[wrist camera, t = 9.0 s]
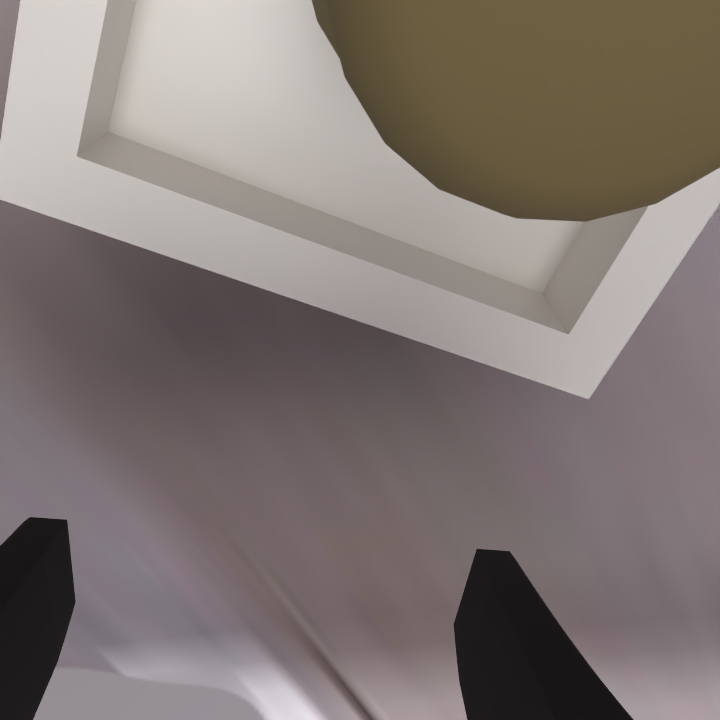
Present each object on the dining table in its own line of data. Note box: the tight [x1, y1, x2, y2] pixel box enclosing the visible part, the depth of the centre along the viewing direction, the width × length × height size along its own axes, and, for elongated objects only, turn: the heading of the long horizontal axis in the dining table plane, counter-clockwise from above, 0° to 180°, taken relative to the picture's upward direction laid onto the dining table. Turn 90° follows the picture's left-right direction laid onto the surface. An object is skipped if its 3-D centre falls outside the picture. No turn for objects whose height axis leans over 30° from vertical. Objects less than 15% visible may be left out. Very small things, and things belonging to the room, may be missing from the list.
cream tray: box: [0, 0, 720, 399], centre depth 15 cm, size 15×13×3 cm
